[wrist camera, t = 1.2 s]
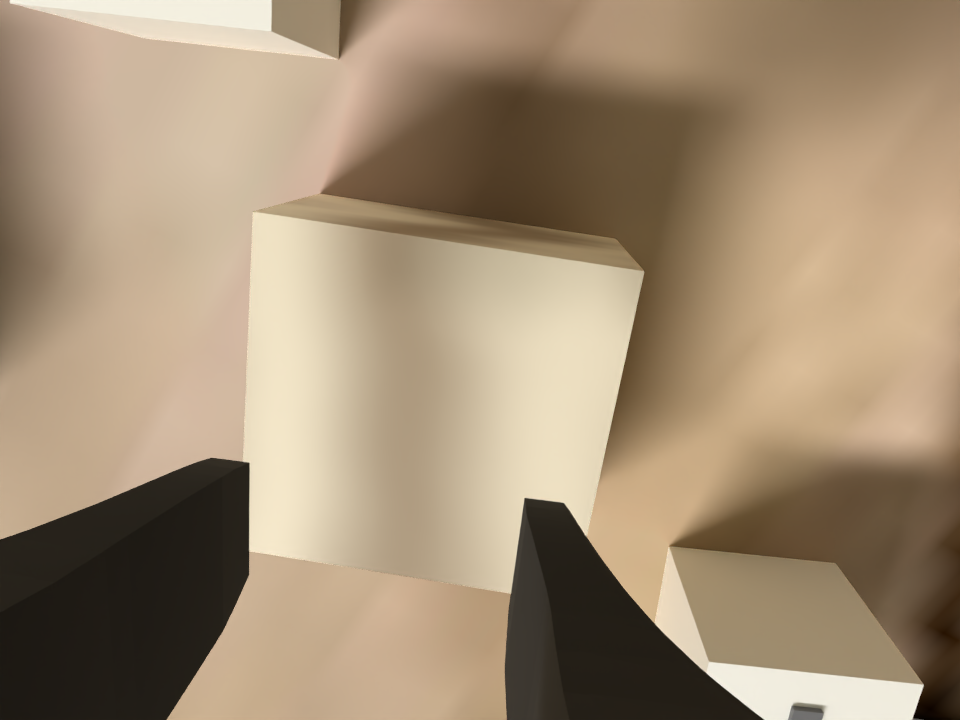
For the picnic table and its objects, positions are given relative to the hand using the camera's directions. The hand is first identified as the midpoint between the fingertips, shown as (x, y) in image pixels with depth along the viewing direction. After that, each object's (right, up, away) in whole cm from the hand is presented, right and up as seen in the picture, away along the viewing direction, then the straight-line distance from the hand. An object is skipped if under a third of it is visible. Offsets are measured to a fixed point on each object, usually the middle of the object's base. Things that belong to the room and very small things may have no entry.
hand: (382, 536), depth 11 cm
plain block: (+1, +3, +9) cm, 10 cm away
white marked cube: (+10, -5, +11) cm, 16 cm away
